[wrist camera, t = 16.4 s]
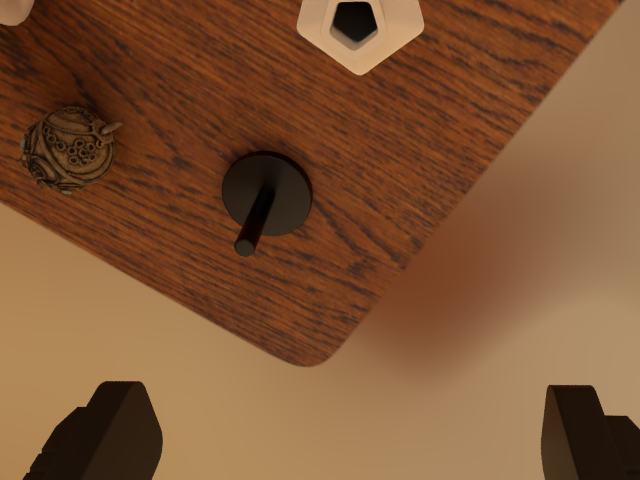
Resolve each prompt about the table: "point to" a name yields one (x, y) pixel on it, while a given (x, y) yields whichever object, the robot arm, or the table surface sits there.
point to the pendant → (68, 149)
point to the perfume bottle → (360, 29)
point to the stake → (265, 197)
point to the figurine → (14, 11)
